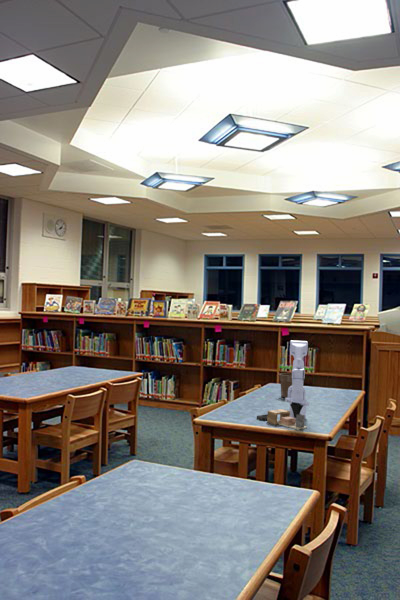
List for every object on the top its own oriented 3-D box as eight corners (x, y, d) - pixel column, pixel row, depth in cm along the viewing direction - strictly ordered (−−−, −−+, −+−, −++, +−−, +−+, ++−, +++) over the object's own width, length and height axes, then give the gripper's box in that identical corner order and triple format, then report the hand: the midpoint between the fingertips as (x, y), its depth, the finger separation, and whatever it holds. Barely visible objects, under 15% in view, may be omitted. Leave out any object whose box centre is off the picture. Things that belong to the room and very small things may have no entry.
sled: (281, 421, 283) (281, 408, 283) (306, 428, 269) (307, 414, 269) (272, 422, 278) (273, 409, 278) (297, 429, 265) (298, 415, 265)
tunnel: (281, 420, 286) (281, 409, 286) (289, 422, 281) (290, 411, 281) (267, 422, 278) (267, 410, 278) (275, 424, 274) (276, 413, 274)
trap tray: (267, 417, 292) (268, 414, 292) (274, 419, 288) (274, 415, 288) (256, 418, 286) (256, 415, 286) (263, 420, 282) (263, 417, 282)
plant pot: (277, 394, 374) (279, 372, 374) (300, 396, 372) (301, 373, 372) (278, 398, 358) (279, 375, 358) (301, 400, 355) (303, 376, 356)
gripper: (281, 390, 274) (280, 415, 273) (303, 394, 262) (302, 421, 262) (290, 389, 278) (289, 414, 278) (312, 393, 267) (311, 419, 267)
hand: (296, 417), depth 270 cm, fingers closed
